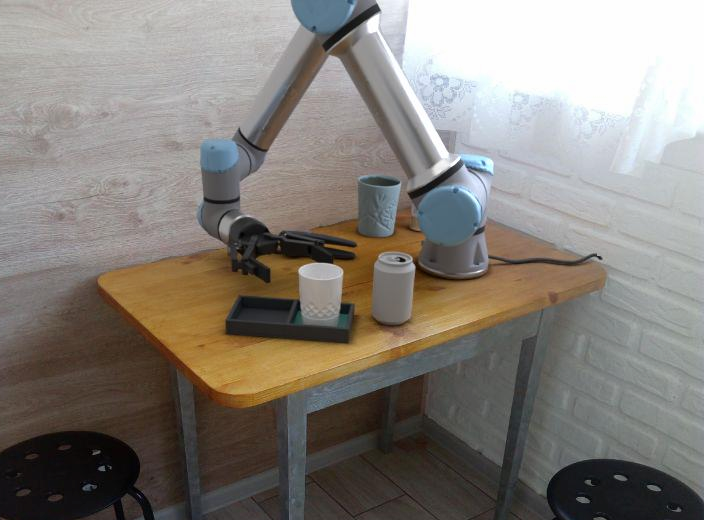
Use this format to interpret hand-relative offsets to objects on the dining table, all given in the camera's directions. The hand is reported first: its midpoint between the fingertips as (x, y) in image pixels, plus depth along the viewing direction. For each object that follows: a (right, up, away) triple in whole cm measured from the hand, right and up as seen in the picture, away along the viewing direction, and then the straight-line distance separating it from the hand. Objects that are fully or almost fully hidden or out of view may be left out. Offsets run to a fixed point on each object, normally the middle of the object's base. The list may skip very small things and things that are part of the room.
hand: (301, 269), depth 141 cm
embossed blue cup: (+16, +21, +44) cm, 52 cm away
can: (+17, -8, +5) cm, 19 cm away
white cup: (+4, -10, 0) cm, 11 cm away
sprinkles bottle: (+26, +23, +47) cm, 58 cm away
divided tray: (-2, -10, +1) cm, 10 cm away
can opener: (+2, +11, +30) cm, 32 cm away
